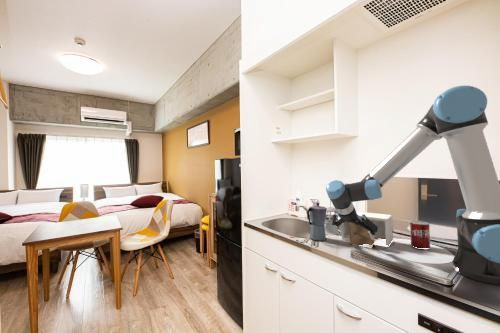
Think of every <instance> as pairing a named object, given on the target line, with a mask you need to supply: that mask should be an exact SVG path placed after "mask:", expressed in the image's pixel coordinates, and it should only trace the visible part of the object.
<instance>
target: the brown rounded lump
mask: <svg viewBox="0 0 500 333" xmlns="http://www.w3.org/2000/svg"><path fill="white" fill-rule="evenodd" d="M356 222H357V221H356ZM349 231H350V241H349V245H350V246H351V245H353V246H356V247H360V246H359V245H363V244H369V245H372V244H373V243H374V240H372V239H371V237H370V235H369V231H368V230H366V229H365V228H363V227H361V226H360V225H356V224H355V223H351V222H349Z"/></svg>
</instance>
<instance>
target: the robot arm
mask: <svg viewBox="0 0 500 333" xmlns="http://www.w3.org/2000/svg"><path fill="white" fill-rule="evenodd" d="M487 106H488V97H487V95H486V93H485V92H484V91H483V90H482V89H480V88H478V87H477V86H476V87H475V86H471V85H457V86H452V87H450V88H448V89H446V90H445V91H443V92H442V93H441V94H439V95H438V96H437V97H436V99H435V100H434V101H433V104H432V105H431V106H430V107H429V109H428V110H427V112H426V114H424V116H423V118H422V119H421V120H420V121H419V122H418V123H416V128H415V129H414V130H413V131H412V132H411V133H410V134H409V135H408V136H407V137H406V138H405V139H404V140H402V141H401V143H399V144H398V145H397V146H396V147H395V148H394V149H393V150H392V151H391V152H390V153H389V154H388V155H387V156H386V157H384V159H383V160H382V161H380V163H378V164H377V166H375V167H374V168H373V169H372V170H371V171H370V172H369V173H367V175H366V176H365V177H364V178H362V179H361V180H360V181H356V182H352V183H346V184H345V183H344V182H343V181H341V180H337V179H336V180H335V179H334V180H331V181H330V182H328V183H327V184H326V188H325V191H326V193H327V197H328V198H329V201H331V204H332V205H333V208H335V209H336V211H337V212H336V211H335V212H333V214H332V215H333V217H334V219H333V222H332V225H336V227H338V230H339V232H340V234H341V235H342V234H343V235H344V233H345V229H344V227H343V225H342V223H344V222H345V221H346V222H351V223H355V224H356V225H360V226H361V227H363V228H365V229H366V230H368V231H369V235H370V237H371V239H372V240H374V236H375V232H377V230H378V227H377V226H376V225H375V224H374V223H373V222H371V221H370V220H369V219H368V218H367V217H366V216H365V215H362V216H358V215H357V213H356V211H357V209H356V207H355V206H354V204H353V203H354V202H362V201H374V200H377V199H381V198H382V197H383V192H382V188H383V186H385V185H386V184H387V183H388V182H390V180H391V179H393V178H394V177H395V176H396V175H397V174H399V172H401V170H403V169H404V168H405V167H407V165H408V164H410V163H411V162H412V161H413V160H414V159H415V158H416V157H417V156H419V155H420V154H421V153H422V152H423V151H424V150H426V149H427V148H428V147H430V145H431V144H433V142H435V141H438V140H441V139H442V138H444V139H445V141H446V143H447V146H448V150H449V154H450V157H451V160H452V164H453V168H454V171H455V176H456V177H457V181H458V184H459V187H460V191H461V195H462V198H463V201H464V206H465V208H460V209H457V210H456V216H455V218H456V231H457V233H456V235H457V250H456V252H455V254H454V256H453V259H452V260H451V261H452V264H453V265H454V266H455V267H458V268H459V272H460V274H459V275H461V276H464V277H466V278H469V279H471V280H474V281H479V282H482V283H487V284H493V285H500V181H499V177H498V174H497V171H496V169H495V164H494V162H493V158H492V155H491V153H490V149H489V146H488V143H487V140H486V139H487V138H486V136H485V134H484V129H485V128H486V127H487V126H488V125H489V121H488V118H487V115H486V112H485V111H486V108H487ZM338 218H339V219H338ZM336 219H338V220H337V222H336ZM356 221H357V222H356ZM452 264H451V265H452Z"/></svg>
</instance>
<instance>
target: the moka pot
mask: <svg viewBox="0 0 500 333" xmlns="http://www.w3.org/2000/svg"><path fill="white" fill-rule="evenodd" d="M306 214H307V219H308V224H309V225H310V232H309V239H310V240H313V241H319V242H320V241H322V242H323V241H326V234H325V225H324V224H325V219H326V215H327V207H326V206H321V205H320V202H317V203H316V205H313V206H310V207H308V209H307V211H306Z"/></svg>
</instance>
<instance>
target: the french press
mask: <svg viewBox="0 0 500 333" xmlns="http://www.w3.org/2000/svg"><path fill="white" fill-rule="evenodd" d="M329 203H330V204H329V207H328V206H327V207H326V208H327V211H326V219H325V224H324V227H325V235H330V236H335V235H336V236H337V235H340V234H341V231H340V230H339V229H338V227H337V226H336V225H332V222H333V219H334V217H333V214H329V213H334V212H335V211H336V209H335V207H334V206H333V207H332V206H331V204H332V202H331V200H329ZM336 212H337V211H336ZM337 220H339V219H338V218H337V219H336V222H337Z"/></svg>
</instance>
